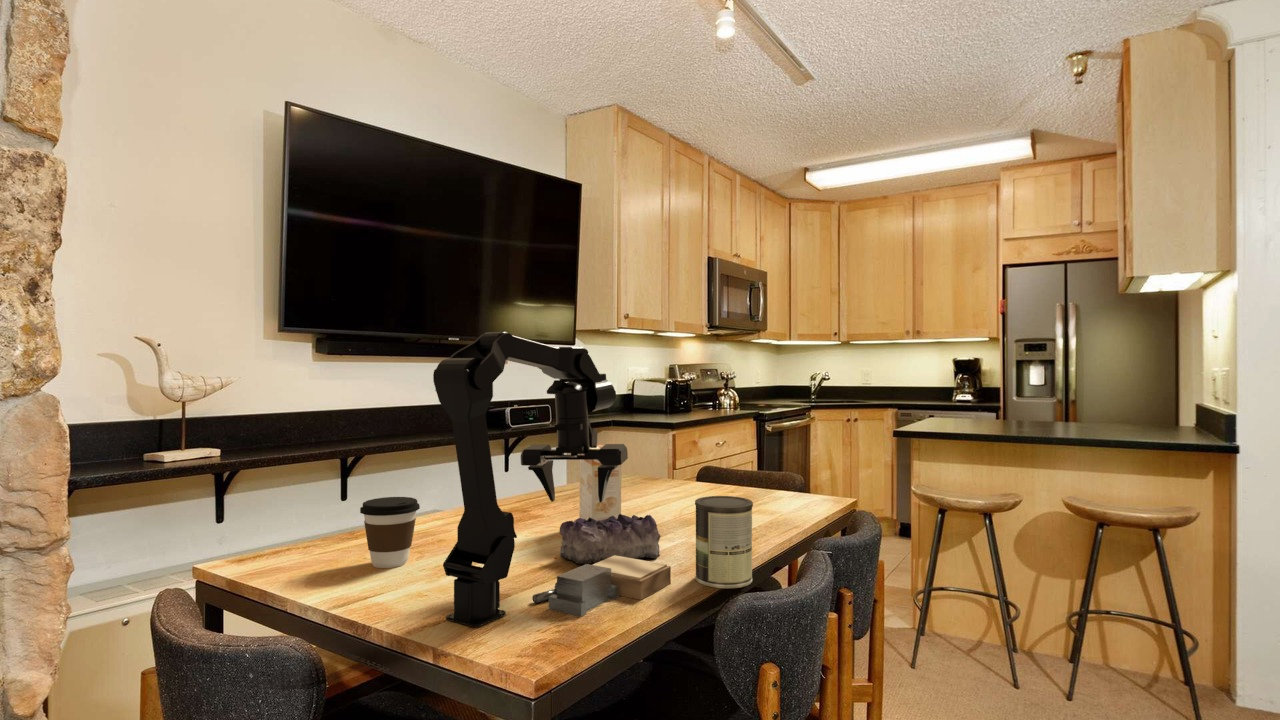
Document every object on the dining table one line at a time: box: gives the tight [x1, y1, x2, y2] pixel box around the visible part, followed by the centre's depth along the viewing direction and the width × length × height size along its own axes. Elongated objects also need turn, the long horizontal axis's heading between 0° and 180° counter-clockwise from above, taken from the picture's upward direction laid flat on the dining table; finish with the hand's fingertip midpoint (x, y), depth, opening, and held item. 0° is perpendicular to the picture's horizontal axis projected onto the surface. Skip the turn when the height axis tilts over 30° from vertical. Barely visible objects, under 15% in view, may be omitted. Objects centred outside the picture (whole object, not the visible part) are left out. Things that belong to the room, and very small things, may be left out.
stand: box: [592, 555, 672, 601], centre depth 119 cm, size 10×12×3 cm
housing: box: [547, 563, 620, 618], centre depth 110 cm, size 10×6×5 cm, turn 148°
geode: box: [559, 513, 662, 565], centre depth 137 cm, size 20×12×10 cm, turn 108°
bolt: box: [531, 581, 557, 604], centre depth 112 cm, size 6×2×2 cm, turn 133°
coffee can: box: [694, 495, 754, 589], centre depth 123 cm, size 10×10×14 cm
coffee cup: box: [359, 496, 421, 569], centre depth 132 cm, size 11×11×12 cm
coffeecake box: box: [578, 444, 622, 521], centre depth 158 cm, size 15×7×20 cm, turn 15°
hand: (576, 501), depth 125 cm, fingers open, 9 cm apart
